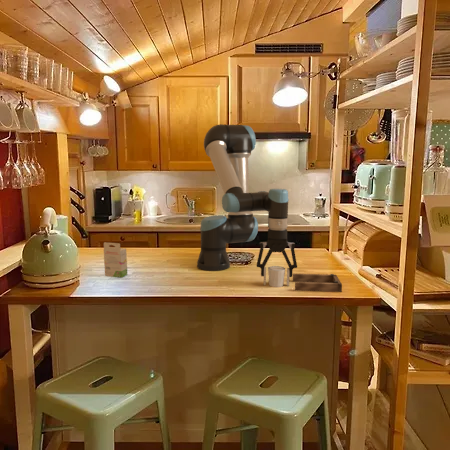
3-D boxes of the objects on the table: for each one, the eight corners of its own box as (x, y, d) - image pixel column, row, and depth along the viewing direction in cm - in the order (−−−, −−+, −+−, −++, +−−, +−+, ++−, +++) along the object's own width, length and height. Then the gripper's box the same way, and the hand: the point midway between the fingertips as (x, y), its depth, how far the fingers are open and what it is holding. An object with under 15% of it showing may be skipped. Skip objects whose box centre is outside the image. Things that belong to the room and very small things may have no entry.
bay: (295, 290, 163) (295, 281, 162) (292, 280, 176) (292, 272, 175) (341, 291, 161) (342, 282, 161) (335, 281, 174) (336, 273, 174)
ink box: (128, 274, 183) (126, 241, 181) (121, 278, 179) (120, 243, 176) (110, 272, 186) (109, 239, 184) (104, 276, 181) (102, 242, 179)
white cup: (266, 282, 173) (266, 265, 172) (282, 282, 174) (283, 265, 172) (269, 287, 166) (269, 270, 165) (286, 287, 167) (287, 270, 166)
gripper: (250, 229, 163) (249, 286, 167) (306, 230, 161) (304, 288, 165) (250, 226, 170) (249, 280, 174) (304, 227, 169) (302, 282, 172)
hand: (276, 284), depth 170 cm, fingers open, 8 cm apart
